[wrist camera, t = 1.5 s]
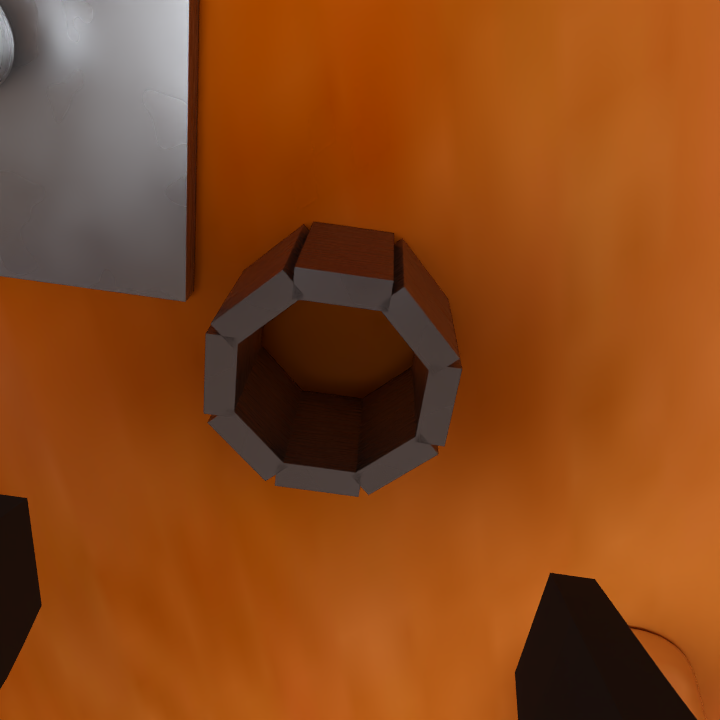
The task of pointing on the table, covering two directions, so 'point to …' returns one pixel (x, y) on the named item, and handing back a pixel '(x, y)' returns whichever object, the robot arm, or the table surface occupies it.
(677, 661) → the beer glass
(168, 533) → the table surface
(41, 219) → the square steel plate
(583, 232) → the table surface
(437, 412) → the ring
